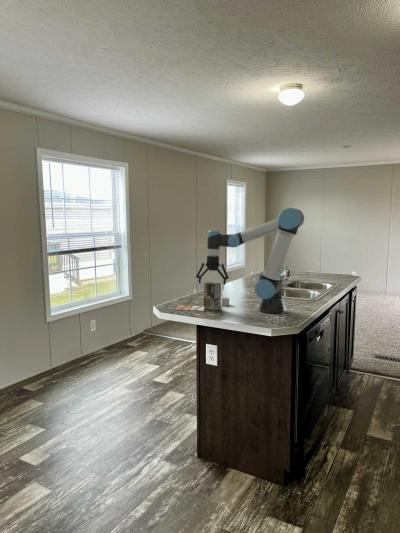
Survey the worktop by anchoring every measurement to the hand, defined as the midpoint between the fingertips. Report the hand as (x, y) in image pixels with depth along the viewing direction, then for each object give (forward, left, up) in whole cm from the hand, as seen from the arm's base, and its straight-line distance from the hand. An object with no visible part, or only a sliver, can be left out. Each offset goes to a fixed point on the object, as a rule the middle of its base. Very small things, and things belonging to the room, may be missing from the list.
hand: (211, 289), depth 242 cm
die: (-7, -14, -13) cm, 20 cm away
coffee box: (0, 0, -12) cm, 12 cm away
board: (+9, 0, -13) cm, 15 cm away
